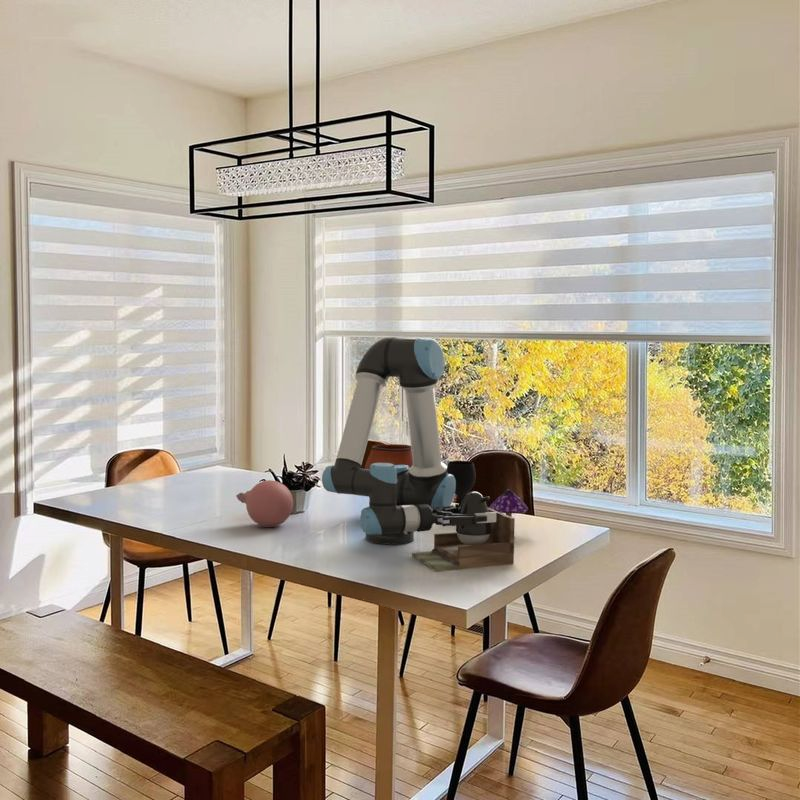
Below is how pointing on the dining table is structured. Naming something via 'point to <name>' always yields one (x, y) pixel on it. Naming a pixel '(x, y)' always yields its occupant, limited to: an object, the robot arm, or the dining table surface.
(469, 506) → the dark grey figurine
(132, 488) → the dining table surface
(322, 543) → the dining table surface
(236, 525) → the dining table surface
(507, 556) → the brown wooden tray
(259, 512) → the pink round body
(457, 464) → the wine glass
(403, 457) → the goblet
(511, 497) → the decorative mushroom
